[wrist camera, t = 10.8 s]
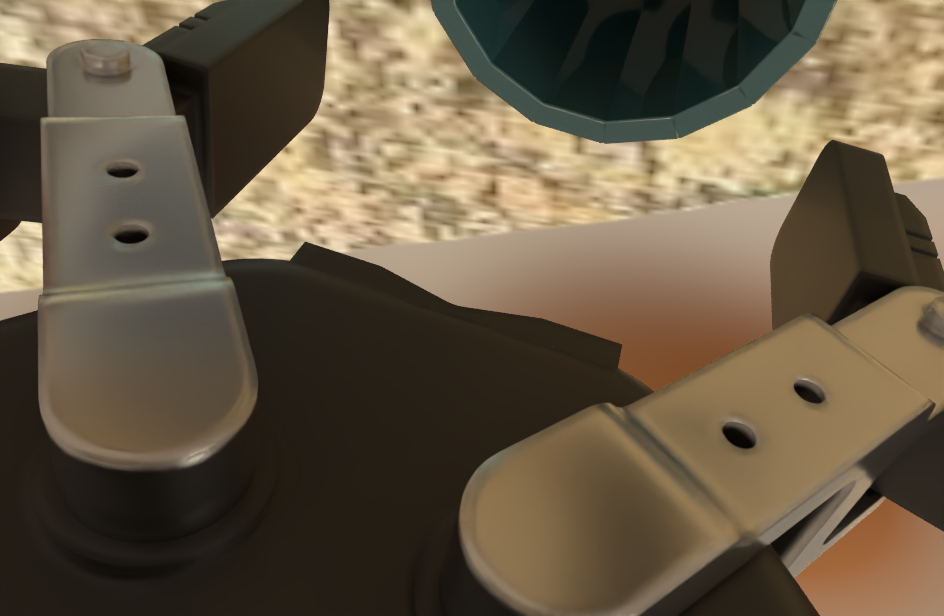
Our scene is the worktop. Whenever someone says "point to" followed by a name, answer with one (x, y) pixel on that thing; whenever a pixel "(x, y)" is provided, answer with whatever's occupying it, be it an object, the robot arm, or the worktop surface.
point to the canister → (631, 58)
